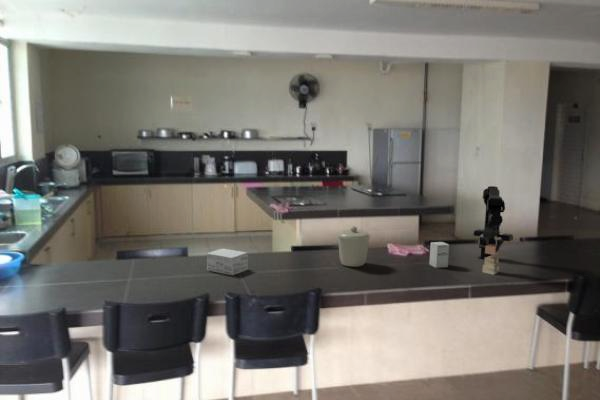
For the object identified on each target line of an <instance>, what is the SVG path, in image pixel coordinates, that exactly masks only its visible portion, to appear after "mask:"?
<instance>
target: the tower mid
mask: <svg viewBox="0 0 600 400" xmlns="http://www.w3.org/2000/svg"><path fill="white" fill-rule="evenodd" d="M499 259H500V258H499V257H495V256H492V255H491V256H488V257H485V259H484V264H483V265H486V266H490V267H495V266H498V265H499Z"/></svg>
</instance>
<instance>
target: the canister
mask: <svg viewBox="0 0 600 400" xmlns="http://www.w3.org/2000/svg"><path fill="white" fill-rule="evenodd" d="M336 236H337V241H338V254H339V261H340V263H341V264H342V265H343V266H346V267H350V268H355V267H356V268H357V267H362V266H364V265H365V264H366V260H367V255H368V249H369V243H370V241H369V240H370V238H371V235H370V234H369V233H368V232H366V231H363V230H358V228H357V227H356V226H355V225H354V226H351V227H350V229H346V230H345V229H344V230H342V231H339V232H338V233H337V234H336Z"/></svg>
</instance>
